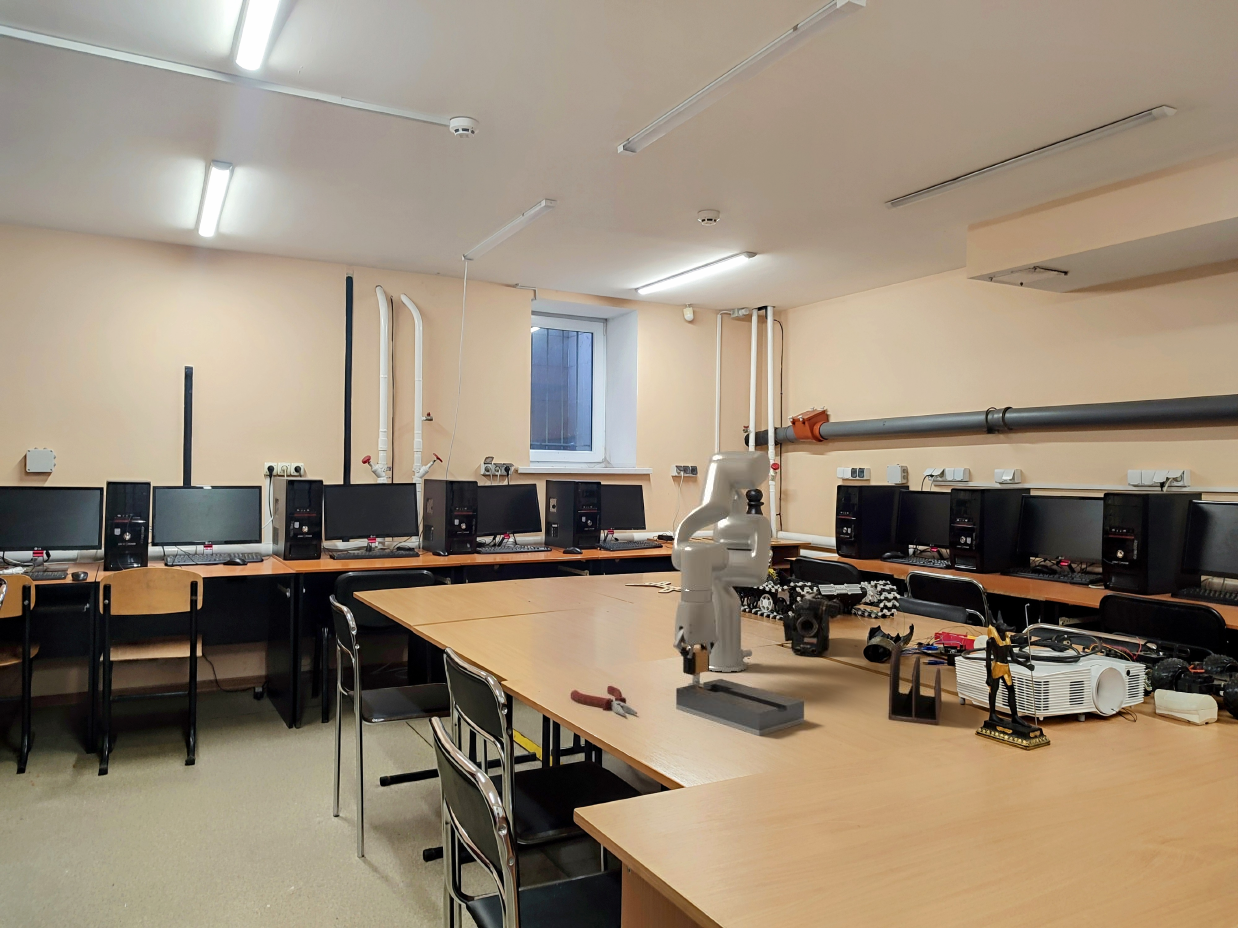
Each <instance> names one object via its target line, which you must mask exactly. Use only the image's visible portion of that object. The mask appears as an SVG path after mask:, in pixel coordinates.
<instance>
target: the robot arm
mask: <svg viewBox="0 0 1238 928" xmlns="http://www.w3.org/2000/svg"><path fill="white" fill-rule="evenodd" d="M704 473H705V475H704V479H703V484H702V490H701V492H700V493H701V494H700V499H699V504H698V505H697V506H696V507H695V508H694V509H693V510H691V511H690V512H688V514H687V515H686V516H685V517H684V518H683V519H682V520H681V522H680V523H679V525H678V526H677V528H676V531H675V533H674V534H675V535H674V539H673V543H672V544H673V545H672V549H671V562H672V565H673V567H674V568H675V569H676V570H678V571H680V602H679V601H678V602H677V603H678V604H677V607H676V608H677V609H676V613H675V620H674V621H675V624H674V642H673V643H672V645H673V648H674V649H676V650H677V651H678V653H679V654H680V656H681V657H682V659H683V660H682V661H683V662H682V668H683V669H682V672H683V673H684V674H686V675H690V676H692V675H694V658H692V655H693V649H694V648H695V646H697V645H698V648H700V649H704V650H708V671H707V672H706V673H709V670H712V671H711V672H715V671H722V672H721V673H732V672H731V671H737V672H742V671H744V669H745V670H746V669H747V667H748V665H747V662H746V661H744V659H745V658H748V657H752V656H753V651H752V650H751V649H749V648H748V649H742V602H741V599H740V597H739V595H738V593H737V592H736V590H735V589H734V588H733V587H748V588H751V587H752V588H758V587H762V586H764V584H765V583H766V581H767V578H768V573H769V564H770V556H771V545H772V526H771V522H770V520H769V519H768V518H767V517H766V515H765V516H764V515H763V514H754V513H752V514H751V513H750V514H749V513H747V509H748V498H747V496H746V494H745V493H744V492H743V491H742V490H756V489H758V488H760V487H761V485H762V484H764V483H765V482H766V481H767V479H768V478H769V475H770V473H771V460H770V456H769V454H767V453H766V451H762V450H725V451H719V452H715V453H712V455H711V456H710V457H709V461H708V464H707V467H706V470H705V472H704ZM711 525H712V526H713V529H712V540H713V542H710V541H707V542H706V541H690V540H691V538H692V537H693V535H694V534H696V533H697V532H698V531H701V530H702V529H704V528H707V527H709V526H711ZM736 549H737V550H736ZM738 549H739V550H738ZM741 549H742V550H741ZM687 649H688V650H687ZM741 670H742V671H741Z"/></svg>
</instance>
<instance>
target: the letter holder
mask: <svg viewBox="0 0 1238 928" xmlns="http://www.w3.org/2000/svg"><path fill="white" fill-rule="evenodd" d="M901 645H902V644H901V641H900V642H899V641H898V642H896V643H895V645H894V647H893V650H892V653H891V656H890V662H889V665H890V666H889V668H890V669H889V685H888V686H889V688H888V689H889V691H888V695H889V696H888V714H887V715H888V717H887V718H888V720H890V721H897V722H906V723H913V724H923V725H930V726H931V725H932V726H939V723H940V714H941V710H942V709H941V708H942V701H943V700H942V682H941V681H942V680H941V679H942V678H941V676H942V675H941V669H940V667H938V668H937V669H936V674H935V679H934V680H935V681H934V689H933V691H934V692H933V696H931V695H926V694H925V695H924V694H921V656H920V655H919V656H918V655H917V656H916V657H915V660H914V664H913V669H912V674H911V686H910V689H909V691H908V693H905V692H900V673H901V648H902V647H901Z"/></svg>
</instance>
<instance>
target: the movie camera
mask: <svg viewBox="0 0 1238 928" xmlns="http://www.w3.org/2000/svg"><path fill="white" fill-rule="evenodd" d="M798 601H799V602H796V603H794V604H793V614H792V615H790V614H787V613H786V614H785V613H784V614H782V627H783V632H784V640H785V642H790V648H791V651H792V653H793V654H797V655H800V656H809V657H810V656H811V657H812V656H813V657H821V656H822V655H823V653H825V652H827V651H829V648H830V629H831V628H830V619H832V620H833V619H836V618H837V617H838V616H840V615H842V614H843V612H844V610H845V605H844V604H843V602H841V601H840V600H839V599H832V600H830V601H829V599H828V598H827V597H826V596H823V595H819V592H817V591H810V592H808V593H804V594H803V598H799V599H798ZM797 648H801V650H800V651H798V650H797ZM814 649H815V650H816V651H815V652H812V650H814Z"/></svg>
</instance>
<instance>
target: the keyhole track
mask: <svg viewBox="0 0 1238 928" xmlns="http://www.w3.org/2000/svg"><path fill="white" fill-rule="evenodd" d="M702 684H703V687H702V686H698V685H695V684H694V685H689V686H688V685H686V686H685V685H684V686H681V687H677V688H676V690H675V691H676V692H675V693H676V694H675V697H676V699H675V701H676V702H675V703H676V704H675V707H676V710H679V711H681V710H682V712H685V713H689V714H692V715H694V716H698V717H700V718H703V719H707V720H709V721H712V722H716V723H719V724H722V725H724V726H727V727H731V728H734V729H737V730H740V731H743V732H747V733H749V734H751V735H752V734H753V735H756V736H759V737H760V736H763V735H764V736H765V735H767V734H771V733H774V732H777V731H780V730H781V731H782V730H785V729H788V728H792V727H794V726H798V725H801V724H804V723H805V700H803V699H802V700H801V699H797V698H793V697H789V696H787V695H783V694H779V693H775V692H771V691H768V690H764V689H761V688H756V687H752V686H748V685H745V684H741V683H739V682H738V683H737V682H734V681H730V680H726V679H723V678H717V679H712V680H709V681H705V682H703V683H702Z"/></svg>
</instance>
